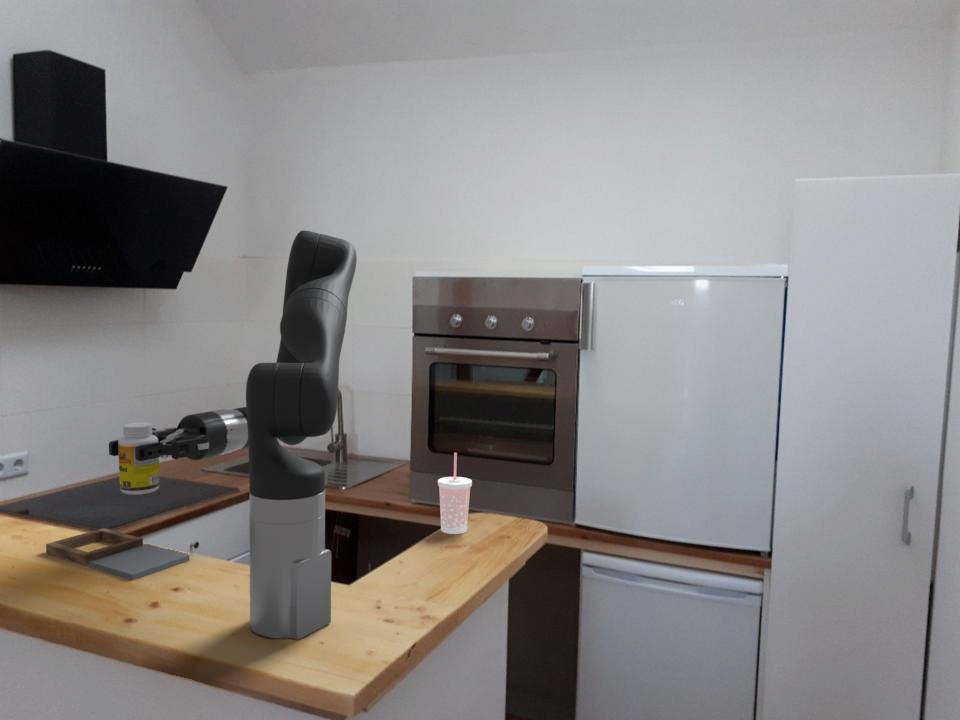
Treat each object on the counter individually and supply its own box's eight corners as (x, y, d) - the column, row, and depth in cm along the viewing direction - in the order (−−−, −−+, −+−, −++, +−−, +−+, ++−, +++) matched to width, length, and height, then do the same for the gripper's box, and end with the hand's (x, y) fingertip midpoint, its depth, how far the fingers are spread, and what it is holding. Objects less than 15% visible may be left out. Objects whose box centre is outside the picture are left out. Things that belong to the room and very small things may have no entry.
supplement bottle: (117, 489, 120) (115, 423, 119) (156, 484, 123) (154, 420, 122) (122, 497, 116) (119, 429, 115) (162, 492, 118) (160, 425, 117)
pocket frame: (143, 547, 127) (142, 538, 127) (85, 565, 119) (85, 555, 119) (104, 536, 132) (103, 528, 132) (46, 553, 124) (46, 544, 124)
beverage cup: (452, 522, 145) (453, 447, 143) (478, 529, 141) (479, 452, 140) (429, 530, 140) (430, 452, 139) (456, 537, 136) (457, 457, 135)
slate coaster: (189, 560, 122) (189, 555, 122) (132, 580, 113) (132, 574, 113) (147, 548, 127) (147, 543, 127) (89, 566, 118) (89, 561, 118)
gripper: (183, 407, 134) (92, 421, 120) (244, 415, 127) (154, 431, 113) (184, 450, 135) (93, 470, 120) (244, 461, 128) (156, 483, 113)
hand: (123, 451), depth 117 cm, fingers closed on supplement bottle, 5 cm apart
